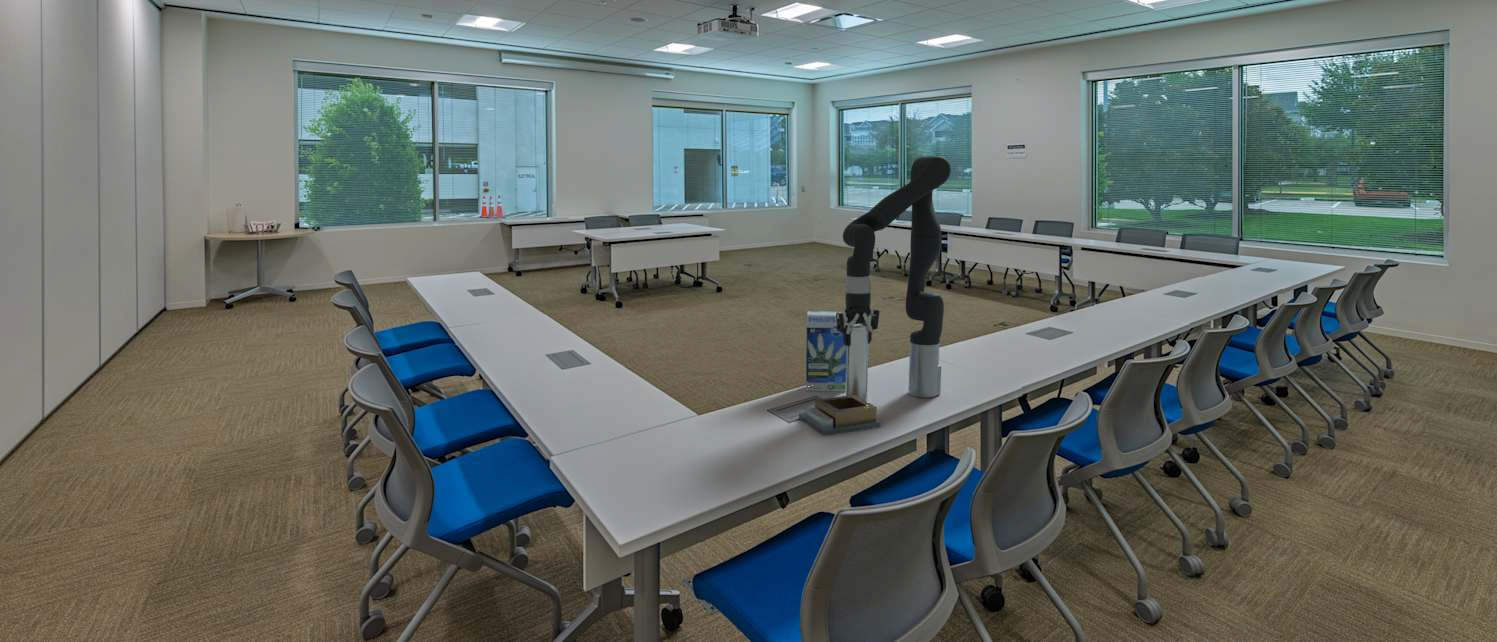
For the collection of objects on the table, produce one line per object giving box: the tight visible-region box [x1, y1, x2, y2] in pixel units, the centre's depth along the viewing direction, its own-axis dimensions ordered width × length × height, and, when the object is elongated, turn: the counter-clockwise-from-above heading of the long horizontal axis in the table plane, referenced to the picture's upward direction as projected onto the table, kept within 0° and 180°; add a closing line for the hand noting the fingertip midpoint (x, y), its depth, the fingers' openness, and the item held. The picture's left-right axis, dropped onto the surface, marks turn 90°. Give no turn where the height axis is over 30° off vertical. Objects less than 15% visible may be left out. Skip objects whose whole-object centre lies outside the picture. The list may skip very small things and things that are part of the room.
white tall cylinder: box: [845, 324, 869, 402], centre depth 226 cm, size 6×6×25 cm
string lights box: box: [805, 310, 847, 393], centre depth 243 cm, size 13×8×26 cm, turn 84°
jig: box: [798, 395, 882, 436], centre depth 211 cm, size 18×16×6 cm
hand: (857, 344), depth 224 cm, fingers closed on white tall cylinder, 6 cm apart
